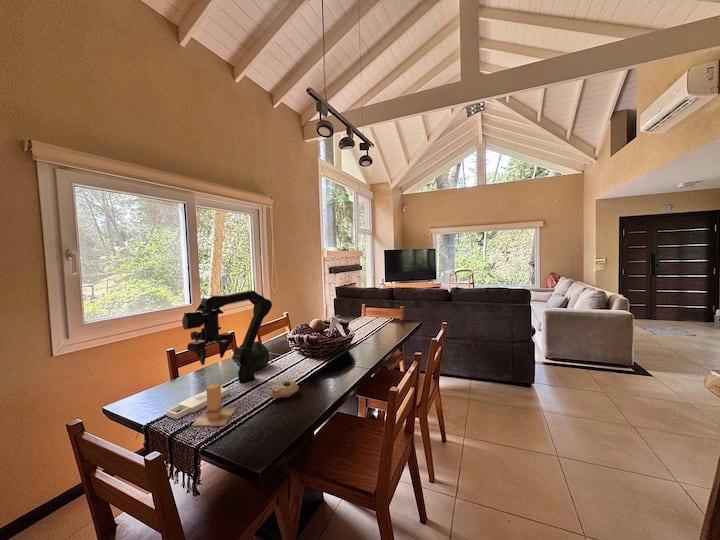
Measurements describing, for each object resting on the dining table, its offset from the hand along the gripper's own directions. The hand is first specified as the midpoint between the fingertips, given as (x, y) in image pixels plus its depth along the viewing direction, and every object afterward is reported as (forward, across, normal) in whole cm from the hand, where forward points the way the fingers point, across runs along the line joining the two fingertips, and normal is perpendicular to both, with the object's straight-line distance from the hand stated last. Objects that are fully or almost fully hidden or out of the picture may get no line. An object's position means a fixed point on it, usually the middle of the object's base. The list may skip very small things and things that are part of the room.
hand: (212, 361), depth 127 cm
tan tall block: (+13, +15, +19) cm, 27 cm away
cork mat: (+13, +15, +19) cm, 27 cm away
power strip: (+13, +11, +4) cm, 18 cm away
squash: (+13, -28, -3) cm, 31 cm away
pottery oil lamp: (+13, -7, +31) cm, 35 cm away
